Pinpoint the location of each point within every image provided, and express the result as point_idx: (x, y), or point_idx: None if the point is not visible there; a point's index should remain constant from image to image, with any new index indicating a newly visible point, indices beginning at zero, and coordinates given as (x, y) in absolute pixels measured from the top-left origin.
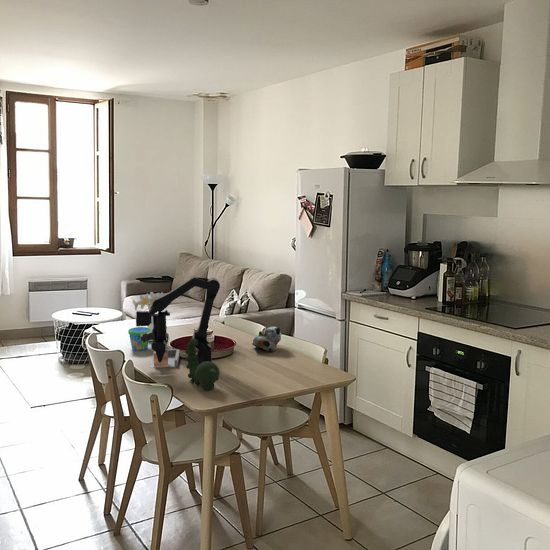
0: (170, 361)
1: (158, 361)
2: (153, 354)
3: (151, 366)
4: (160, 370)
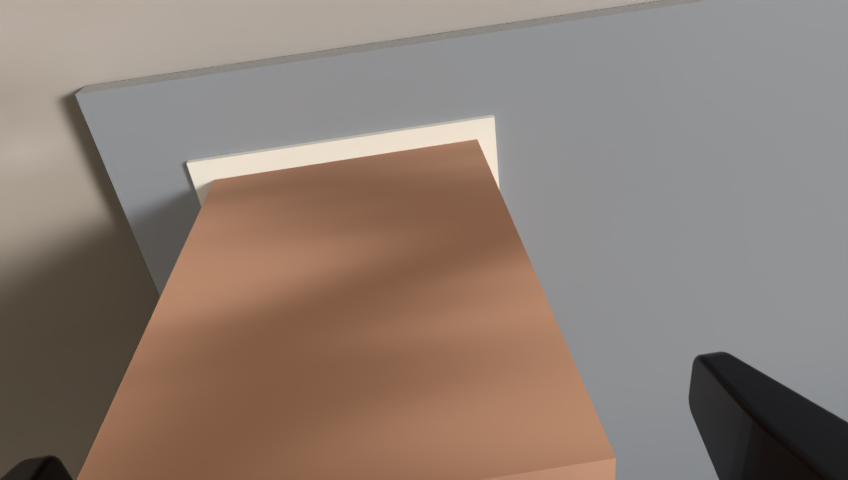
0: (629, 426)
1: (2, 478)
2: (77, 478)
3: (188, 113)
4: (10, 369)
